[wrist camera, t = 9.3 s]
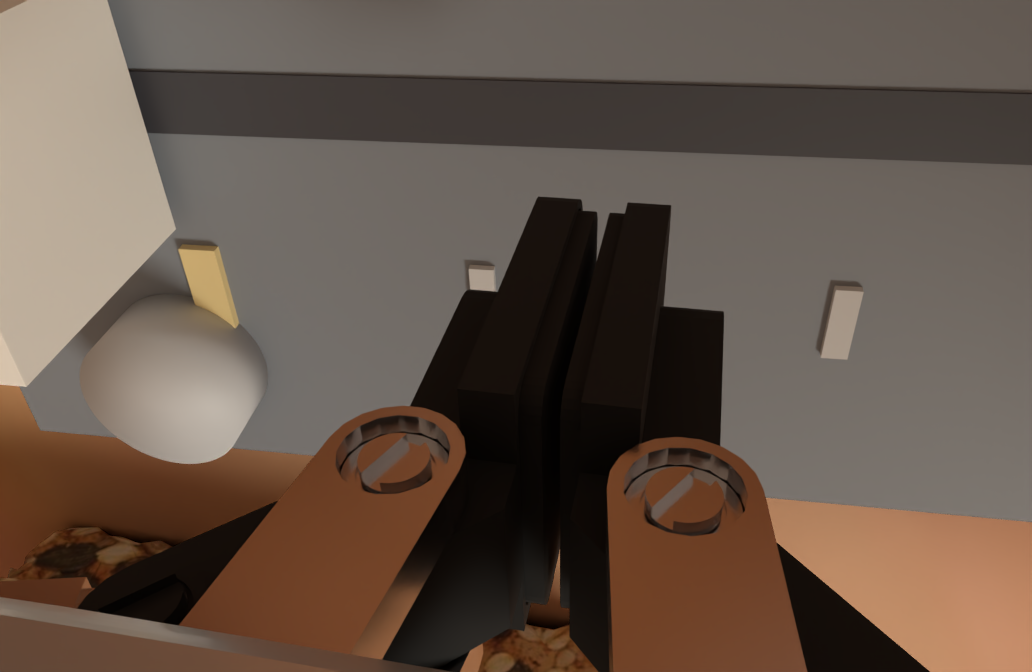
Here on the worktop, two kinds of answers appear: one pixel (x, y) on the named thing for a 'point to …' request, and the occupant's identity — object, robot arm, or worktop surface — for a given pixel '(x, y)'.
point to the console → (602, 188)
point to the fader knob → (68, 178)
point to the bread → (96, 555)
